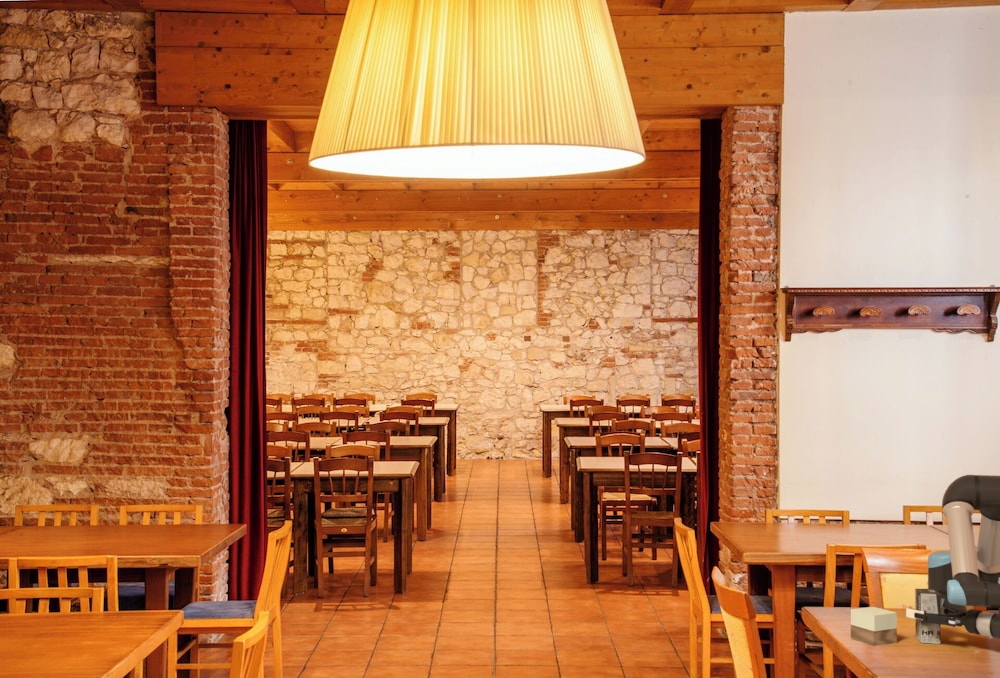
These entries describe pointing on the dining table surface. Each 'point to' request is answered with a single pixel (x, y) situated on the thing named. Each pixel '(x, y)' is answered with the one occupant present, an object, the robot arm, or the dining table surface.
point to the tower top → (873, 618)
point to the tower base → (874, 636)
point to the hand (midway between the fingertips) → (916, 610)
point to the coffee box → (930, 604)
